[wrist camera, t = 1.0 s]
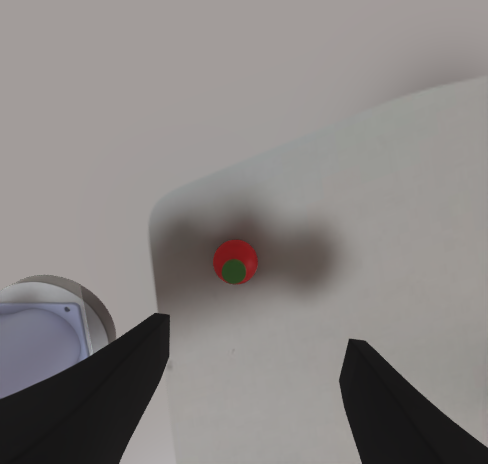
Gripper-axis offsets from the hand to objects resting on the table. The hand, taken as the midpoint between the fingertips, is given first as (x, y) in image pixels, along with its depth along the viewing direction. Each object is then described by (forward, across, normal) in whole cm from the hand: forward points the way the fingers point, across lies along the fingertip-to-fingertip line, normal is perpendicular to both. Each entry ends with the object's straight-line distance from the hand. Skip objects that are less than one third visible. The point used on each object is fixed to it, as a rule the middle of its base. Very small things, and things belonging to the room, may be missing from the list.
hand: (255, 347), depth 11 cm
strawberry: (+10, +2, 0) cm, 11 cm away
